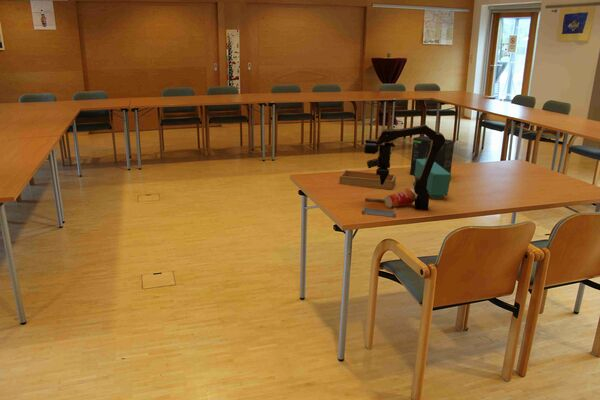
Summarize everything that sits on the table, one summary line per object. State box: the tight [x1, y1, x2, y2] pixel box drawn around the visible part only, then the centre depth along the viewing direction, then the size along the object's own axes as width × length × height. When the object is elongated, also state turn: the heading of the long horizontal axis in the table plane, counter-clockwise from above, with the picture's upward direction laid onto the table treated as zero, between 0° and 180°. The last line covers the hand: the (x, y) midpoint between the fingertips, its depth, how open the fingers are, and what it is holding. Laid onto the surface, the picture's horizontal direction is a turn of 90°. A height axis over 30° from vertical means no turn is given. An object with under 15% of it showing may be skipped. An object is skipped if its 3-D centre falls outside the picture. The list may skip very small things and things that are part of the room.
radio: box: [414, 159, 452, 200], centre depth 292 cm, size 34×10×15 cm, turn 4°
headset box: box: [409, 135, 455, 177], centre depth 321 cm, size 22×12×26 cm, turn 49°
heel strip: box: [364, 197, 385, 204], centre depth 271 cm, size 16×2×2 cm, turn 79°
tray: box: [339, 169, 397, 190], centre depth 304 cm, size 31×15×6 cm, turn 74°
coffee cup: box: [384, 188, 417, 209], centre depth 266 cm, size 8×8×15 cm
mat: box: [361, 204, 397, 218], centre depth 255 cm, size 16×9×2 cm, turn 79°
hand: (381, 184), depth 264 cm, fingers closed
